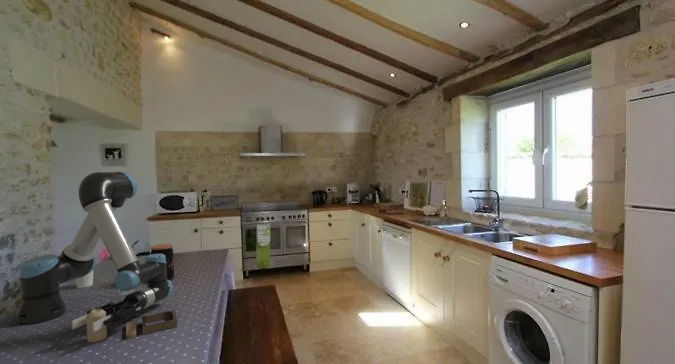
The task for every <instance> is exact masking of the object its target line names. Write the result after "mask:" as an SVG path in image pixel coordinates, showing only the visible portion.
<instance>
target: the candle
mask: <svg viewBox="0 0 675 364" xmlns="http://www.w3.org/2000/svg"><path fill="white" fill-rule="evenodd" d="M92 309H93V310H92ZM92 309H91V310H92V311H91V312H90V313H89V314H88V315H87V314H86V315H87V316H86V322H87V323H86V336H87V338H86V339H87V342H88V343H98V342H101V341H103V340H105V339H106V338H107V337H108V330H107V327H108V325H107V326H105V327H103V328H101V329H99V330H97V331H95V332H93V330H92V323H94V322H96V321H98V320H100V319H102V318H105V317H107V315H106V312H105V311H104V310H102V309H95V308H92Z"/></svg>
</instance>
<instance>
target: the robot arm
mask: <svg viewBox="0 0 675 364" xmlns="http://www.w3.org/2000/svg"><path fill="white" fill-rule="evenodd" d="M137 191H138V184H137V179H136V178H135V177H134V176H133V175H132V174H131V173H128V172H124V171H113V172H112V171H111V172H109V171H105V172H104V171H98V172H92V173H89V174H88V175H86V176H85V177H84V178H83V179H82V180H81V182H80V184H79V186H78V198H79V199H78V200H79V203H80V205H81V207H82V209H83V211H84V212H87V215H86V216H85V218H84V220H83V222H82V224H80V227H79V228H78V231H77V233H75V234H76V235H75V236H74V238H73V240H72V242H71V244H68V245H66V246H65V247H64V248H63V250H62V252H61V254H60V255H56V254H45V255H42V256H36V257H33V258H30V259H28V260H25V261H24V262H23V263H22V264H21V265H20V270H19V277H20V289H21V290H20V293H21V295H20V296H21V302H20V306H19V308H18V312H17V314H16V323H17V324H20V325H31V324H36V323H37V324H38V323H42V322H47V321H50V320H53V319H57V318H59V317H61V316H62V315H64V314H66V312H67V305H66V303H65V300H64V299H63V297H62V295H61V289H60V288H61V287H60V285H62V284H66V283H68V282H71V281H74V280H75V279H78V278H81V277H83V276H85V275H87V274H89V273H90V272H91V271H92V270H93V271H94V269H95V267H96V263H97V262H96V259H97V258H96V255H95V251H94V250H95V248H96V246H97V245H98V243H99V241H100V239H101V240H102V243H103V245H104V246H105V249H106V251H107V253H108V255H109V257H110V259H111V261H112V262H113V265H114V266H115V268H116V271H117V274H116V275H115V278H114V281H115V282H114V284H115V286H116V288H117V289H118V290H119V291H122V292H127V291H131V290H134V289H137V288H138V287H140V286H142V285H144V284H146V286H145V287H143V288H140V289H138V290H136V291H134V292H131V293H129V294H126V296H125V297H124V299H123V300H121V301H118V302H116V303H115V302H114V301H110V302H109V303H106V304H103V305H100V306H98V307H95V308H92V309H89V310H86V314H85V315H82V316H80V317H77V318H75V319H73V320H71V329H72V330H75V329H77V328H80V327H82V326H84V325H87V322H86V316H87V315H88V314H89V313H90V312H91V311H92V310H93V309H102V310H104V311H105V312H106V317H105V318H102V319H100V320H98V321H96V322H94V323H92V330H93V332H95V331H97V330H99V329H101V328H103V327H105V326H107V327H108V326H109V325H111V324H112V323H114V324H115V323H117V322H118V323H123V322H125V320H127V319H129V318H130V317H132V316H134V315H135V314H138V313H139V312H141V311H142V310H143V309H147V308H148V307H150V306H152V305H154V304H156V303H158V302H159V301H163V300H165V299H167V298H168V297H169V296H170V295H172V293H173V291H174V284H173V283H172V280H167V270H166V258H165V255H164V254H152V255H151V254H148V255H147V256H146V257H145V260H144V262H145V263H140V261H139V259H138V257H137V255H136V253H135V251H134V250H133V247H132V246H131V243H130V241H129V239H128V237H127V235H126V233H125V231H124V229H123V227H122V225H121V223H120V220H119V219H118V216H117V214H116V213H115V212H116V210H117V209H120V208H122V207H123V206H124V204H125V202H126V201H127V199H131V198H133V197H135V195H136V194H137ZM75 281H76V280H75Z"/></svg>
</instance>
